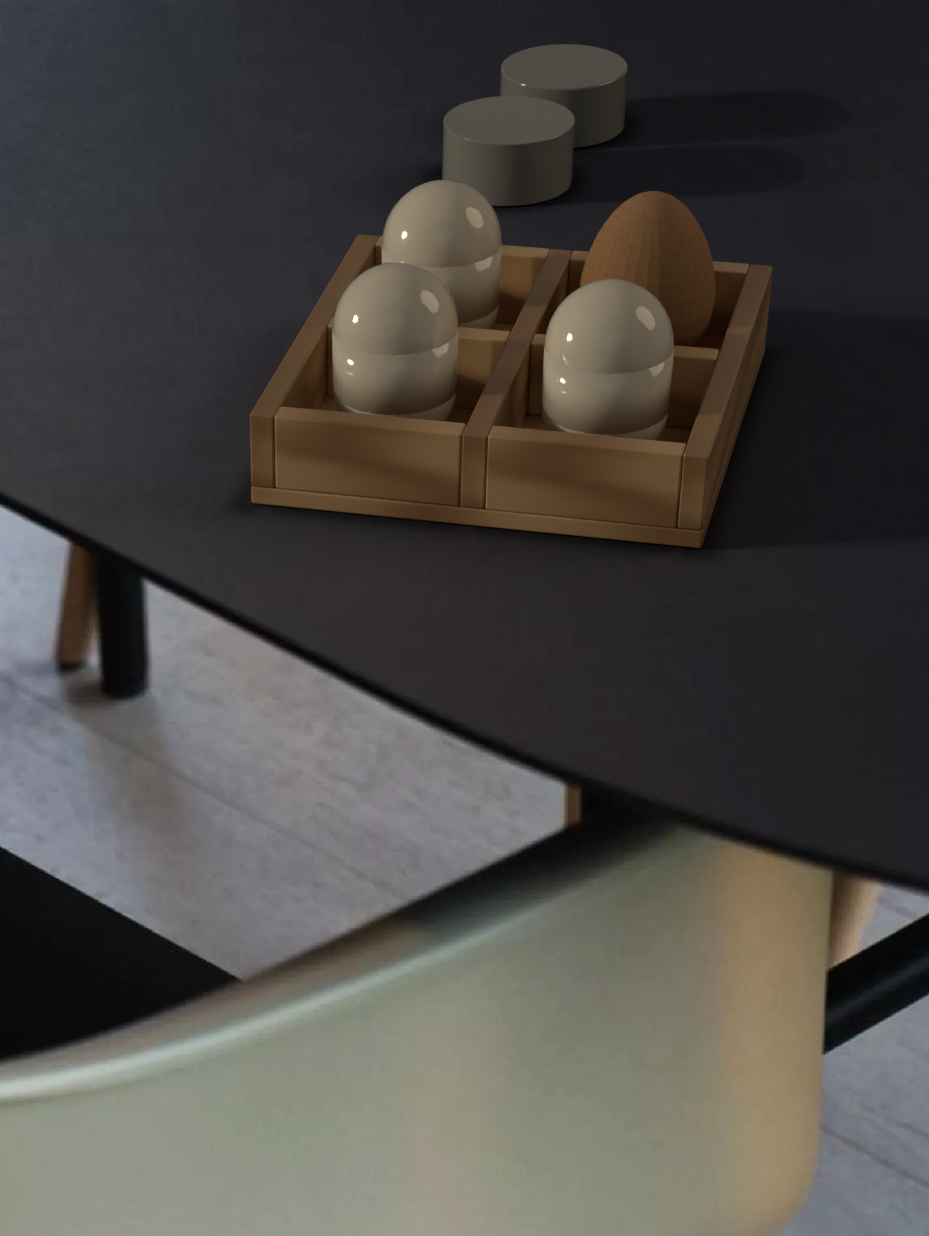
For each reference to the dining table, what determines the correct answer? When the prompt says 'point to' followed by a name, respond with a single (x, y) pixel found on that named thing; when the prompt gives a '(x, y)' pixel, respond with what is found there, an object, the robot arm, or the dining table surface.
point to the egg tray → (514, 422)
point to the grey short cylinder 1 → (510, 148)
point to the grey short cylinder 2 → (573, 86)
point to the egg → (659, 259)
